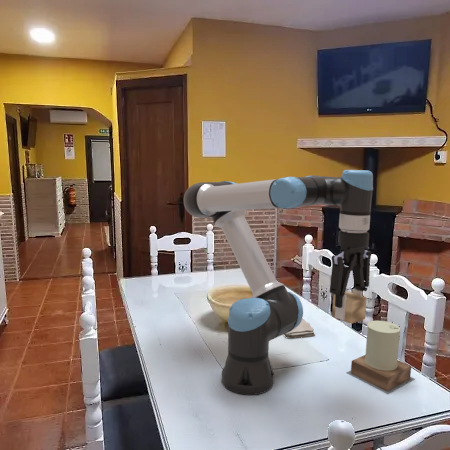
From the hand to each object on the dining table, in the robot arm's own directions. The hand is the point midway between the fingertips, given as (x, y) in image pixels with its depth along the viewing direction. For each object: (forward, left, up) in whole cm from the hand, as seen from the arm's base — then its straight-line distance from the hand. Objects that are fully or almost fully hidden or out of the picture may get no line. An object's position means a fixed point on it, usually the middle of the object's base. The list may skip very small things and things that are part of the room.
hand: (347, 315), depth 108 cm
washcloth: (+21, +40, -24) cm, 51 cm away
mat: (+17, 0, -23) cm, 29 cm away
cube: (0, 0, 0) cm, 1 cm away
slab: (+17, 0, -22) cm, 28 cm away
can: (+17, 0, -19) cm, 25 cm away
